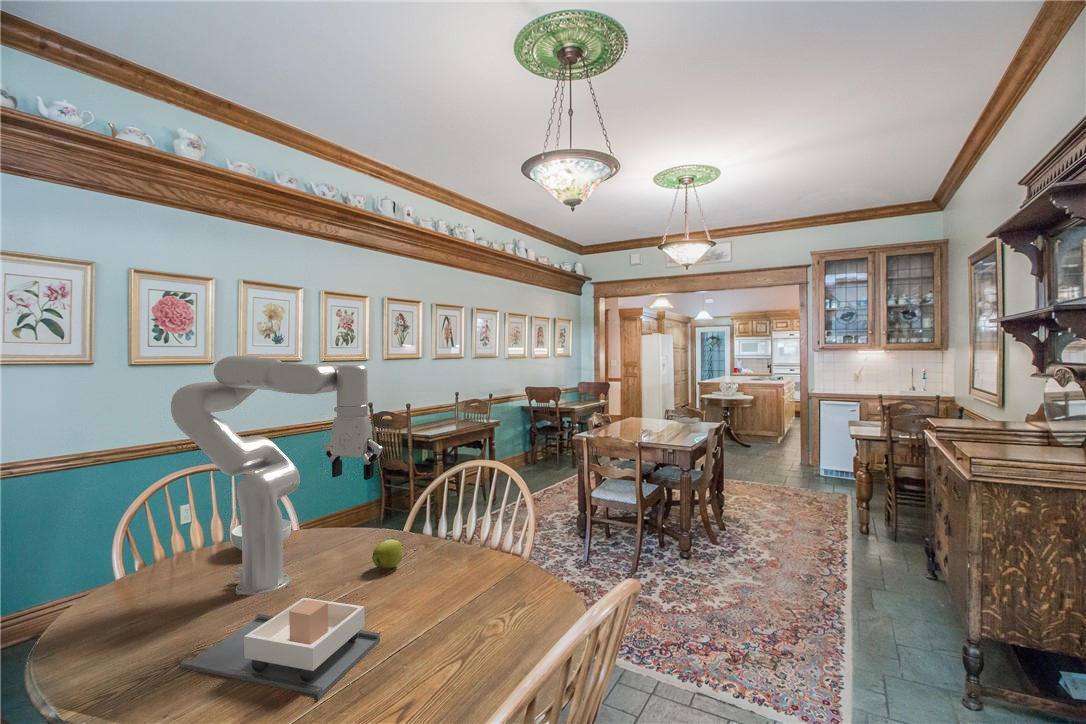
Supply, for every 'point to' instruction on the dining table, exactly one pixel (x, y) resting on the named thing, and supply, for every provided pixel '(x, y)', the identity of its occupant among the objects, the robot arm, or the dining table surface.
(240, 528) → the cereal bowl
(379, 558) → the apple
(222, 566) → the dining table surface
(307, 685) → the track
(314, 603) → the block
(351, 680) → the dining table surface
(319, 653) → the cart
